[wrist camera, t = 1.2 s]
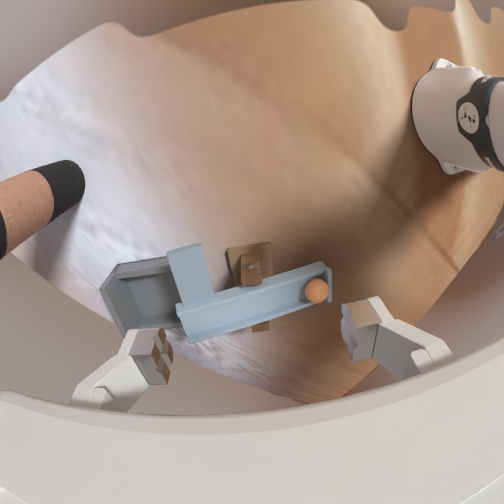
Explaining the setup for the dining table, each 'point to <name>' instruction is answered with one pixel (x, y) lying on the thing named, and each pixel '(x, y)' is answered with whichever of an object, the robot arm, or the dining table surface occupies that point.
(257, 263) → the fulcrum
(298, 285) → the lever
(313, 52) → the dining table surface
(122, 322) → the tray
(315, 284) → the ball
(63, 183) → the travel mug
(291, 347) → the dining table surface
